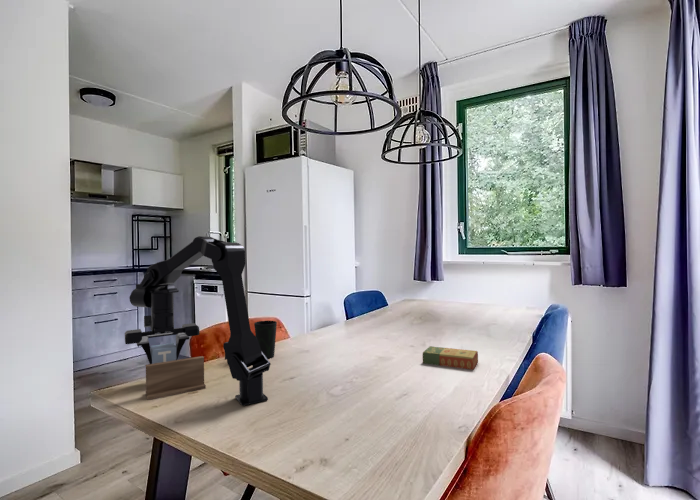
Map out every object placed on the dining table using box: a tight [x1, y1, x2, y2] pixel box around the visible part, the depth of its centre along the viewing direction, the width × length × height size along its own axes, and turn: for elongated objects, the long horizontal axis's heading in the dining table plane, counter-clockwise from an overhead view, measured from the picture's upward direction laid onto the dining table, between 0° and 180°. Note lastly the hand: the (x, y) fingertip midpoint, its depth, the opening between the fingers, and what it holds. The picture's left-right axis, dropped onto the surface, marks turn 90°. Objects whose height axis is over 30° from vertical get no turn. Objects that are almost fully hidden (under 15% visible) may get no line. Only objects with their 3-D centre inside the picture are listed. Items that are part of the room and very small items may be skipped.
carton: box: [422, 345, 479, 371], centre depth 122 cm, size 8×16×4 cm, turn 62°
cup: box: [253, 320, 278, 360], centre depth 132 cm, size 8×8×12 cm
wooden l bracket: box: [145, 355, 207, 401], centre depth 101 cm, size 5×14×8 cm, turn 122°
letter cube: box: [150, 342, 176, 364], centre depth 108 cm, size 6×6×6 cm
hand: (163, 363), depth 108 cm, fingers closed on letter cube, 6 cm apart
